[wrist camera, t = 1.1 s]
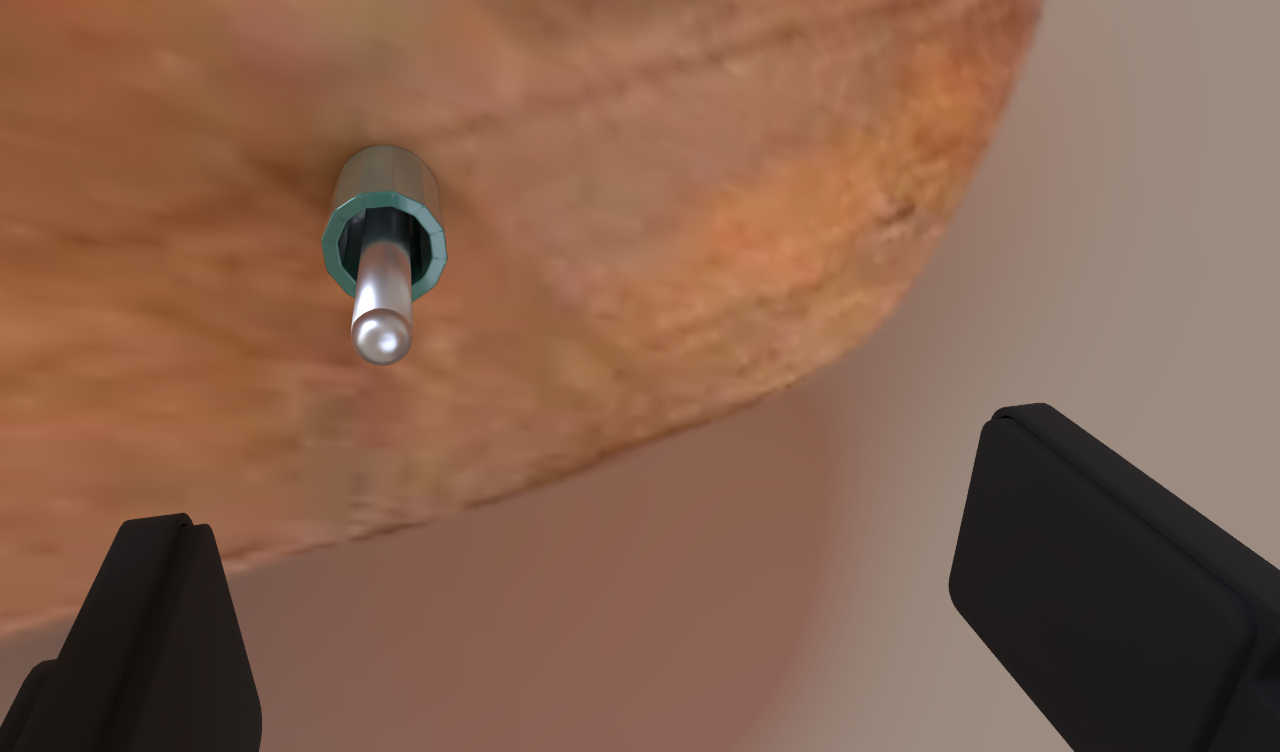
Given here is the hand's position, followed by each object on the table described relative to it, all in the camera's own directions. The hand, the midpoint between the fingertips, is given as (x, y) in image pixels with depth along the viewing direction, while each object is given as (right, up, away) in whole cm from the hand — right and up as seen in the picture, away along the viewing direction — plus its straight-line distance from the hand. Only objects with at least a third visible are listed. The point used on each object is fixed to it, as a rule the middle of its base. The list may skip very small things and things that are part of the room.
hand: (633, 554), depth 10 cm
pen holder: (-10, +9, +23) cm, 27 cm away
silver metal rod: (-10, +9, +23) cm, 26 cm away
